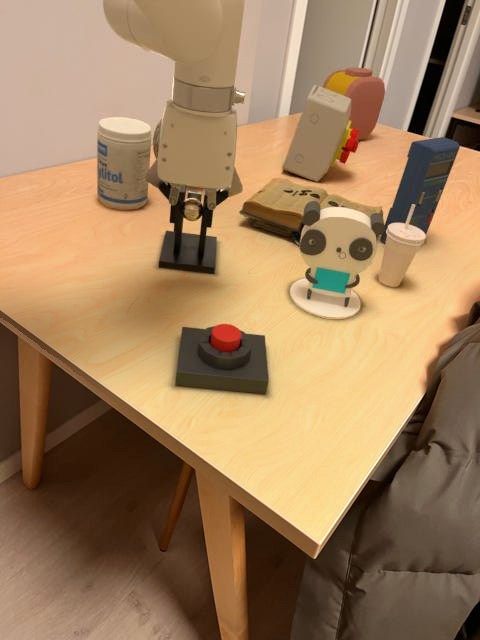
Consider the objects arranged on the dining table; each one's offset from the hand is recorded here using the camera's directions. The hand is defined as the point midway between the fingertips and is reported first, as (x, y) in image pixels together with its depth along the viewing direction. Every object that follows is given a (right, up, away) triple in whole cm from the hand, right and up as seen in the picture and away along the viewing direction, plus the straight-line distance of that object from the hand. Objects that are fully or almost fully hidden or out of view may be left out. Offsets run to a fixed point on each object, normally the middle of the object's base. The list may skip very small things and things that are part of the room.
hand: (190, 228), depth 76 cm
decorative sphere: (-5, +18, +41) cm, 45 cm away
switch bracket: (-2, -2, +13) cm, 14 cm away
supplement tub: (-16, +10, +27) cm, 32 cm away
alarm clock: (+39, +43, +87) cm, 105 cm away
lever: (0, +3, +3) cm, 4 cm away
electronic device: (+40, +3, +30) cm, 50 cm away
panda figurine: (+20, -10, +8) cm, 24 cm away
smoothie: (+33, -7, +16) cm, 37 cm away
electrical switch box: (+26, +24, +57) cm, 67 cm away
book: (+21, +5, +28) cm, 36 cm away
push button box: (+5, -19, -9) cm, 22 cm away
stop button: (+5, -16, -11) cm, 20 cm away
